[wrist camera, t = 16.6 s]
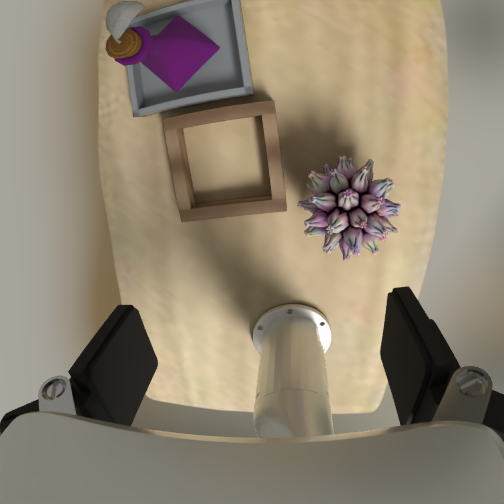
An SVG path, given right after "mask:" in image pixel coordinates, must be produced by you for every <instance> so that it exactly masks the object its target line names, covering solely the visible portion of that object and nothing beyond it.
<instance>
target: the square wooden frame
mask: <svg viewBox="0 0 504 504" xmlns="http://www.w3.org/2000/svg"><path fill="white" fill-rule="evenodd" d="M254 116H262V121H263V129H264V136H265V144H266V152H267V159H268V167H269V176H270V184H271V192H272V195H269V196H259V197H249V198H240V199H231V200H223V201H214V202H206V203H198V204H196V202H195V197H194V191H193V186H192V180H191V174H190V169H189V163H188V157H187V151H186V145H185V139H184V133H183V128H186V127H191V126H197V125H202V124H208V123H213V122H219V121H226V120H232V119H239V118H246V117H254ZM163 125H164V131H165V137H166V143H167V149H168V155H169V160H170V166H171V171H172V177H173V182H174V187H175V192H176V198H177V203H178V208H179V212H180V217H181V222H187V221H196V220H204V219H213V218H223V217H232V216H242V215H252V214H262V213H273V212H284V211H287V205H286V195H285V186H284V177H283V168H282V159H281V151H280V142H279V134H278V126H277V119H276V111H275V104H274V100H271V101H263V102H254V103H247V104H240V105H233V106H227V107H221V108H215V109H209V110H204V111H198V112H193V113H188V114H184V115H179V116H174V117H170V118H166V119H163Z"/></svg>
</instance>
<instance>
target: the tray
mask: <svg viewBox="0 0 504 504" xmlns="http://www.w3.org/2000/svg"><path fill="white" fill-rule="evenodd" d="M177 15H179V16H181V17H182V18H183V19H185V20H186V21H188V22H189V23H190V24H192V25H193V26H194V27H196V28H197V29H198V30H199V31H201V32H202V33H203V34H205V35H206V36H207V37H208V38H210V39H211V40H212V41H213V42H215V43H216V44H217V45H218V46H219V47H220V49H219V50H218V51H217V52H216V53H215V54H214V55H213V56H212V57H211V58H210V59H209V60H208V61H207V62H206V63H205V64H204V65H203V66H202V67H201V68H200V69H199V70H198V71H197V72H196V73H195V74H194V75H193V76H192V77H191V78H190V79H189V80H188V81H187V82H186V83H185V85H184V86H183V87H182V88H181V89H180V90H179V91H178V92H174V91H173V90H172V89H171V88H170V87H169V86H168V85H166V84H165V83H164V82H163V81H162V80H161V79H160V78H158V77H157V76H156V75H155V74H154V73H153V72H151V71H150V70H149V69H148V68H147V67H146V66H144V65H143V64H142V63H141V62H139V63H137V64H135V65H127V73H128V81H129V89H130V96H131V104H132V111H133V117H144V116H148V115H152V114H156V113H160V112H164V111H168V110H172V109H177V108H181V107H186V106H191V105H196V104H201V103H206V102H211V101H217V100H223V99H229V98H235V97H242V96H249V95H254V89H253V82H252V75H251V68H250V61H249V54H248V48H247V41H246V35H245V28H244V22H243V16H242V10H241V3H240V0H191V1H187V2H184V3H180V4H176V5H173V6H169V7H166V8H162V9H159V10H156V11H153V12H150V13H147V14H144V15H141V16H138V17H136V18H134V19H133V20H132V21H131V23H130V24H129V26H128V27H127V28H129V27H136V26H141V27H143V28H145V29H147V30H149V32H150V34H151V36H153V35H157V34H159V33H160V32H161V31H162V30H163V29H164V28H165V27H166V26H167V25H168V23H169V22H170V21H171V20H172V19H173V18H175V17H176V16H177Z"/></svg>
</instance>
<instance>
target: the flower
mask: <svg viewBox="0 0 504 504" xmlns="http://www.w3.org/2000/svg"><path fill="white" fill-rule="evenodd" d="M373 164H374V162H373V160H370V159H369V160H368V162H367V163H366V165H365V166H363V167H362V168H360V169H359V170H358V172H357V170H356V167H355V166H354V164H353V159H352V158H348V162H347V160H346V156H345V155H343V156H339V163H338V166H337V168H336V169H335V168H334V169H332V168H331V167H330V166H329V165H328V164H325V166H324V170H325V174H320V173H316V172H314V171H312V170H311V172H310V173H309V175H308V177H309V178H310V179H311V181H312V184H310V183H307V184H306V187H308V188H309V189H310V190H311V191H312V193H313V194H314V195H315V196H311V198H308V199H307V200H305V201H299V202H298V203H299V204H298V205H297V206H299V207H303V208H304V210H308V211H310V212H311V213H313V215H312V216H311V218H309V219H308V220H306V221H304V222H305V223H304V224H305V225H306V226H307V227H308V226H309V228H308V229H307V230H305V231H304V234H306V236H307V237H310V236H314V235H315V236H321V235H325V243H324V246H323V249H324V250H323V251H324V252H325V251H326V253H327V254H328V253H329V254H330V253H331V252H332V250H333V249H334V248H336V247H338V246H340V249H341V251H342V253H343V261H344V260H345V261H349V259H350V255H351V254H352V253H354V256H355V255H356V256H357V255H360V249H361V247H362V245H363V246H364V247H365V248H366V249H368V250H370V251H371V252H372V253H373V255H375V254H377V253H379V251H378V248H377V239H378V240H380V241H381V242H383V241H385V239H386V237H385V236H387V235H388V233H389V232H393V233H397V229H396V228H395V227H393V226H392V225H391V223H390V222H389V220H388V219H387V218H389V217H391V216H398V214H399V212H398V211H397V210H400V208H401V205H400V204H396V203H393V202H391V201H390V200H387V199H386V198H387V197H388V195H389V193H390V190H391V189H392V188H393V187H395V183H393V181H392V180H390V179H389V178H386V179H384V180H375V181H372V179H373V169H372V168H373Z"/></svg>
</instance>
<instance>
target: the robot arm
mask: <svg viewBox="0 0 504 504" xmlns="http://www.w3.org/2000/svg"><path fill="white" fill-rule="evenodd" d="M331 338H332V334H331V328H330V324H329V322H328V320H327V319H326V318H325V316H324V315H323V314H322V313H320V312H319V311H318V310H316V309H314V308H312V307H309V306H306V305H301V304H286V305H281V306H278V307H275V308H272V309H271V310H269V311H267V312H266V313H264V314H263V315H262V316H261V317H260V318H259V320H258V321H257V322H256V325H255V327H254V331H253V343H254V346H255V348H256V350H257V352H258V353H259V354H260V364H259V373H258V381H257V390H256V398H255V407H254V416H253V422H254V427H255V430H256V433H257V435H258V437H259V438H234V437H233V438H232V437H215V436H200V435H190V434H180V433H172V432H164V431H156V430H150V429H143V428H137V427H131V424H132V422H133V420H134V417H135V415H136V413H137V411H138V408H139V406H140V404H141V402H142V400H143V397H144V395H145V393H146V391H147V389H148V386H149V384H150V382H151V380H152V378H153V375H154V373H155V371H156V369H157V366H158V360H157V357H156V355H155V352H154V350H153V347H152V345H151V343H150V340H149V337H148V335H147V332H146V330H145V327H144V325H143V322H142V319H141V317H140V314H139V311H138V310H137V309H136V308H134V306H133V305H118V306H117V307H116V308H115V310H114V311H113V312H112V314H111V315H110V316H109V317H108V319H107V320H106V321H105V322H104V324H103V325H102V326H101V328H100V329H99V330H98V332H97V333H96V334H95V336H94V337H93V338H92V340H91V341H90V342H89V344H88V345H87V346H86V348H85V349H84V350H83V352H82V353H81V355H80V356H79V357H78V359H77V360H76V361H75V363H74V364H73V366H72V367H71V368H70V370H69V371H68V372H69V374H70V375H71V378H70V380H69V379H67V378H66V377H64V376H55V377H52V378H50V379H48V380H47V381H45V382H44V383H43V385H42V386H41V387H40V389H39V395H38V397H39V399H38V400H36V401H33V402H31V403H29V404H26V405H24V406H22V407H19V408H17V409H15V410H12V411H10V412H8V413H6V414H5V415H4V417H3V419H2V420H1V422H0V504H504V394H501V393H499V392H496V391H494V390H492V387H493V383H492V380H491V377H490V376H489V374H488V373H487V372H486V371H484V370H483V369H481V368H479V367H475V366H464V367H460V365H459V363H458V361H457V360H456V358H455V356H454V354H453V352H452V351H451V349H450V347H449V346H448V344H447V342H446V340H445V338H444V337H443V335H442V333H441V331H440V330H439V328H438V326H437V325H436V323H435V322H434V321H433V320H432V319H429V318H428V316H427V314H426V313H425V311H424V310H423V308H422V306H421V305H420V303H419V301H418V300H417V298H416V297H415V295H414V294H413V292H412V290H411V289H410V288H409V287H399V288H394V289H393V291H392V292H391V293H388V297H387V306H386V314H385V322H384V329H383V336H382V343H381V349H380V355H381V360H382V363H383V366H384V369H385V373H386V376H387V379H388V382H389V386H390V389H391V392H392V395H393V399H394V402H395V406H396V410H397V414H398V417H399V421H400V425H401V426H396V427H390V428H384V429H378V430H371V431H362V432H354V433H345V434H335V435H334V432H333V424H332V414H331V406H330V397H329V388H328V379H327V371H326V363H325V355H324V353H325V352H326V351H327V349H328V348H329V345H330V343H331Z"/></svg>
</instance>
